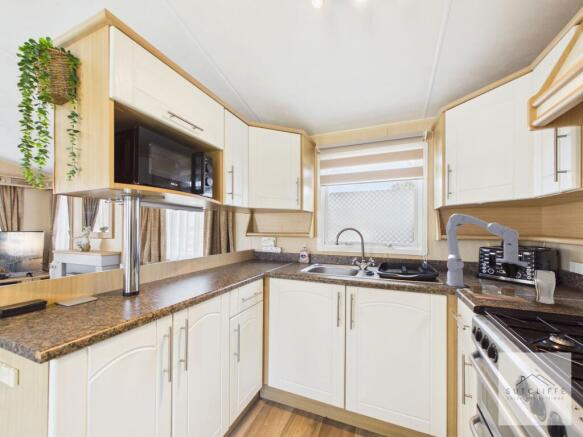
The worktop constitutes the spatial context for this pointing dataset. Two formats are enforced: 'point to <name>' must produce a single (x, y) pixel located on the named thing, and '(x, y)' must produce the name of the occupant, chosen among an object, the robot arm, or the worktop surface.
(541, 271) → the beer glass
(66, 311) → the worktop surface
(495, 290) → the metal block
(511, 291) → the walnut block
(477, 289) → the walnut block
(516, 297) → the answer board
